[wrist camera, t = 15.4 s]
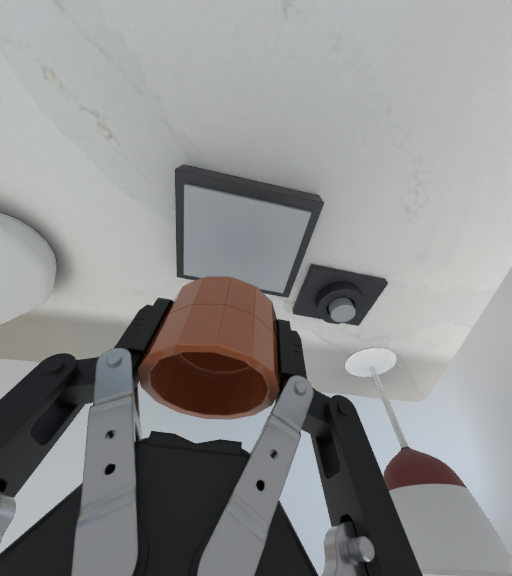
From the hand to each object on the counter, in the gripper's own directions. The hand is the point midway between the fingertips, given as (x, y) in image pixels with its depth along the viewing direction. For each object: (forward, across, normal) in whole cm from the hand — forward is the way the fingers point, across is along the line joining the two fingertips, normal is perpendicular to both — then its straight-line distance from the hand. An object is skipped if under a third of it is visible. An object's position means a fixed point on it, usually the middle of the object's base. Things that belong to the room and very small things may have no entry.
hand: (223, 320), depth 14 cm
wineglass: (+15, -26, +20) cm, 36 cm away
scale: (+15, 0, +1) cm, 15 cm away
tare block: (+15, -14, +7) cm, 22 cm away
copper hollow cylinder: (+1, 0, 0) cm, 1 cm away
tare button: (+13, -14, +7) cm, 20 cm away
